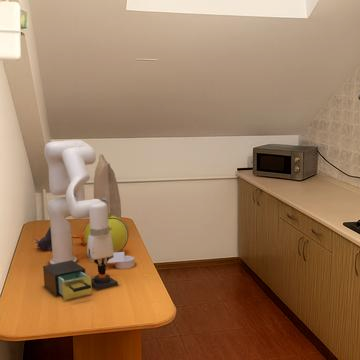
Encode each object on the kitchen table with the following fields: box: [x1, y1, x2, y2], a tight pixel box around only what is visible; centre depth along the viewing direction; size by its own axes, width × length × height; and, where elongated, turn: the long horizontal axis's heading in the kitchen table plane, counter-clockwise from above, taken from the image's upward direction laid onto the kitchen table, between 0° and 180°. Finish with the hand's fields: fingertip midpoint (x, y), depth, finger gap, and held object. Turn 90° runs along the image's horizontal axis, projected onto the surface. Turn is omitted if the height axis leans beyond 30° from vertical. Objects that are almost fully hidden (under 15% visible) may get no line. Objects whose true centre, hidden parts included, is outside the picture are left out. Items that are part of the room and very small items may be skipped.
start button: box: [97, 272, 107, 278], centre depth 235 cm, size 4×4×2 cm
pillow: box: [93, 154, 122, 221], centre depth 317 cm, size 44×14×43 cm, turn 19°
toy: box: [84, 197, 130, 253], centre depth 275 cm, size 23×22×30 cm
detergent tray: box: [57, 271, 93, 300], centre depth 223 cm, size 18×11×7 cm, turn 38°
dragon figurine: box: [34, 226, 86, 251], centre depth 290 cm, size 10×12×25 cm
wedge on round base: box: [107, 251, 135, 270], centre depth 260 cm, size 9×7×13 cm
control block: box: [91, 273, 119, 291], centre depth 236 cm, size 11×9×4 cm
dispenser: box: [42, 260, 86, 297], centre depth 231 cm, size 15×13×9 cm
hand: (102, 273), depth 235 cm, fingers closed
